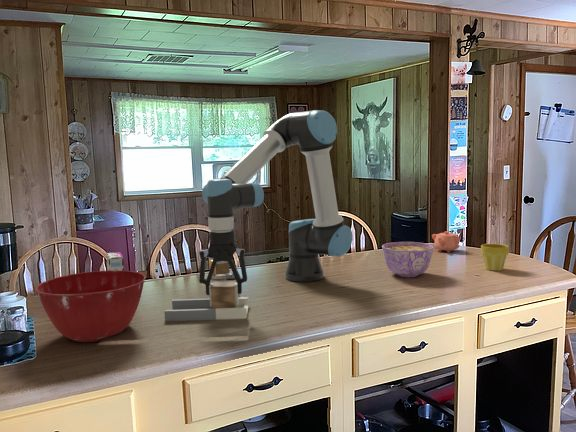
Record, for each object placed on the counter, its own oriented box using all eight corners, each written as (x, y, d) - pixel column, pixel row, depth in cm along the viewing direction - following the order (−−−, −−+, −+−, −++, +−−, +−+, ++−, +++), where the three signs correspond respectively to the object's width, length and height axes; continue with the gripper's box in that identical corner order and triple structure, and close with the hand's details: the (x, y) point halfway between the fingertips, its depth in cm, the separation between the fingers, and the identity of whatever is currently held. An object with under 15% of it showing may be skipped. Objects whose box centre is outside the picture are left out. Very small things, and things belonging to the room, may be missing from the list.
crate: (237, 305, 159) (236, 280, 158) (235, 312, 152) (234, 286, 151) (214, 306, 159) (213, 281, 158) (211, 313, 152) (210, 287, 151)
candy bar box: (126, 304, 170) (123, 256, 168) (111, 306, 168) (107, 258, 166) (123, 296, 181) (120, 251, 179) (108, 298, 179) (105, 252, 177)
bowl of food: (426, 283, 188) (426, 252, 186) (374, 277, 198) (374, 248, 196) (439, 271, 205) (439, 243, 204) (391, 267, 215) (391, 240, 214)
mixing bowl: (69, 318, 157) (65, 269, 155) (160, 317, 156) (157, 268, 154) (19, 354, 129) (13, 295, 127) (129, 352, 128) (125, 293, 126)
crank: (236, 277, 170) (236, 258, 169) (236, 279, 167) (235, 260, 166) (210, 278, 170) (209, 259, 169) (209, 280, 166) (208, 261, 165)
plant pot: (495, 265, 214) (495, 242, 213) (513, 270, 204) (514, 246, 203) (475, 267, 210) (475, 244, 209) (493, 273, 201) (493, 248, 199)
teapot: (438, 254, 240) (438, 233, 239) (430, 249, 252) (430, 230, 251) (462, 253, 241) (463, 233, 240) (453, 248, 253) (454, 229, 251)
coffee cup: (227, 291, 183) (226, 251, 181) (205, 291, 185) (203, 250, 183) (234, 285, 191) (233, 246, 189) (213, 285, 193) (211, 246, 191)
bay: (248, 309, 162) (248, 297, 161) (246, 321, 150) (246, 308, 149) (173, 311, 161) (172, 299, 161) (165, 324, 149) (164, 311, 149)
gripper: (255, 227, 156) (257, 300, 159) (190, 229, 156) (193, 302, 158) (254, 231, 149) (256, 307, 151) (185, 233, 148) (189, 309, 151)
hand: (224, 304), depth 155 cm, fingers closed on crate, 7 cm apart
